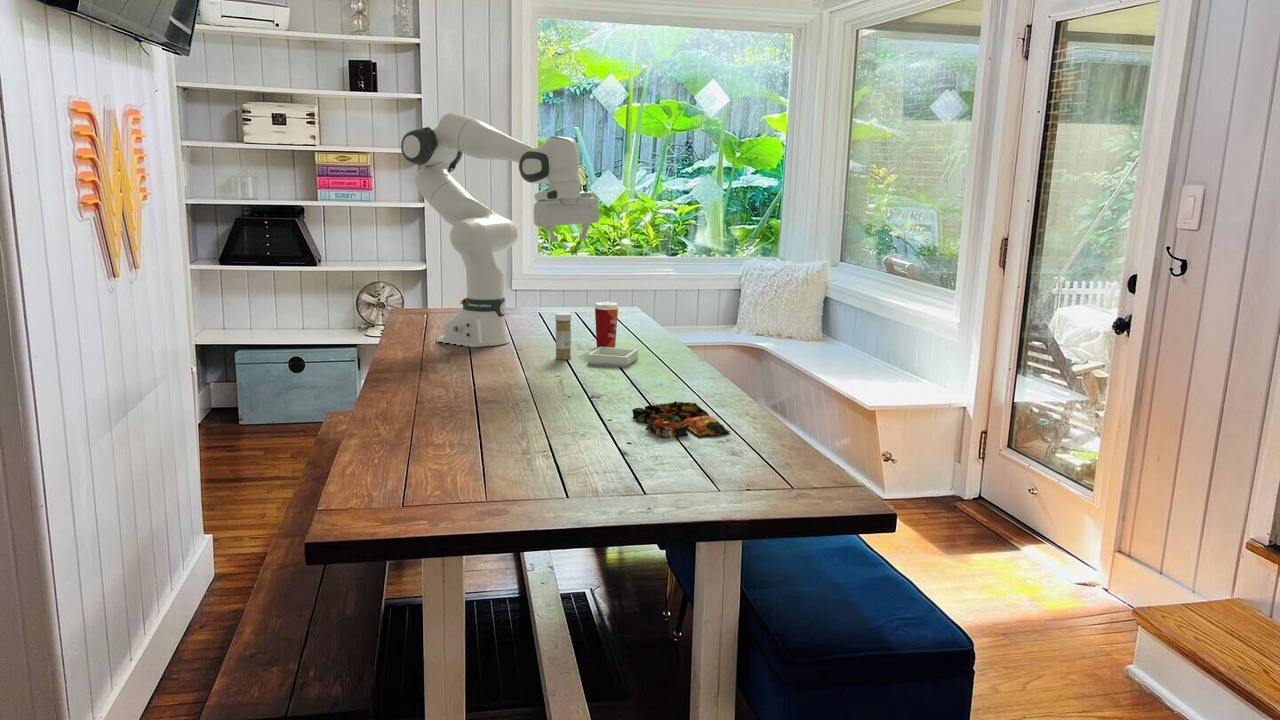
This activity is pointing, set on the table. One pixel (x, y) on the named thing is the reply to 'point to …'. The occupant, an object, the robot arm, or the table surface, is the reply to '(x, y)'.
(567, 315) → the sprinkles bottle
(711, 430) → the food
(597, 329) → the paper cup
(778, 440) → the table surface
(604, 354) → the tray
